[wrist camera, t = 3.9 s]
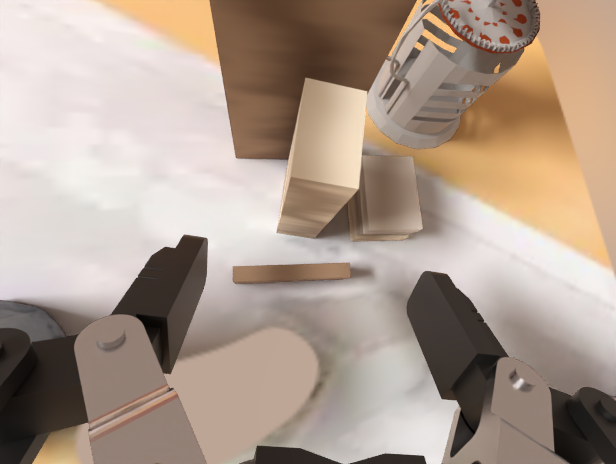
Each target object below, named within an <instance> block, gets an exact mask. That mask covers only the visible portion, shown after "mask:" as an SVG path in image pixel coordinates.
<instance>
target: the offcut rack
mask: <svg viewBox="0 0 616 464" xmlns="http://www.w3.org/2000/svg"><path fill="white" fill-rule="evenodd" d="M416 1H417V0H210V6H211V12H212V18H213V24H214V30H215V36H216V42H217V48H218V54H219V60H220V66H221V72H222V77H223V83H224V89H225V95H226V101H227V107H228V113H229V119H230V125H231V131H232V137H233V143H234V149H235V155H236V158H258V159H289V155H290V150H291V145H292V140H293V136H294V131H295V126H296V121H297V116H298V111H299V107H300V102H301V97H302V92H303V87H304V82H305V78H310V79H314V80H318V81H323V82H327V83H332V84H336V85H341V86H345V87H350V88H354V89H359V90H363V91H367V94H368V92H369V90H370V89H371V87H372V85H373V83H374V81H375V79H376V77H377V75H378V73H379V71H380V69H381V68H382V66H383V64H384V62H385V60H386V58H387V56H388V54H389V52H390V50H391V49H392V47H393V45H394V43H395V41H396V39H397V37H398V35H399V33H400V31H401V30H402V28H403V26H404V24H405V22H406V20H407V18H408V16H409V14H410V12H411V10H412V9H413V7H414V5H415V3H416ZM349 277H351V274H350V263H327V264H296V265H265V266H234V267H233V282H234V283H235V284H243V283H267V282H291V281H315V280H339V279H345V278H349Z"/></svg>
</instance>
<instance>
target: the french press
mask: <svg viewBox="0 0 616 464" xmlns="http://www.w3.org/2000/svg"><path fill="white" fill-rule="evenodd" d="M425 1H426V0H422V1H421V3H420V5H419V7H418V9H417V10H416V12H415V14H414V16H413V18H412V19H411V21H410V23H409V25H408V27H407V29H406V30H405V32H404V33H403V35H402V37H401V39H400V41H399V42H398V44H397V46H396V48H395V50H394V52H393V53H392V56H391V57H390V56H387V58H386V60H387V61H385V62H384V64H383V66H382V68H381V69H380V71H379V73H378V75H377V77H376V79H375V81H374V83H373V85H372V87H371V89H370V90H369V92H368V94H367V101H366V108H367V112H368V114H369V116H370V117H371V119H372V120H373V122H374V123H375V125H376V126H377V128H378V129H379V131H381V132H382V133H383V134H385V135H386V136H388V137H389V138H390V139H392V140H393V141H394V142H396V143H398V144H401V145H404V146H408V147H411V148H414V149H425V148H436V147H438V146H439V145H441V144H443V143H445V142H446V141H448V140H450V139H451V138H452V136H453V135H454V133H455V132H456V130H457V128H458V127H459V125H460V118H461V114H462V113H463V112H465V110H466V108H467V107H469V106H471V105H472V104H473V103H474V102H475V101H476V99H477V98H478V97H480V96H481V95H483V94H484V93H485V92H486V91H487V90H488V88H489V86H491V85H493V84H494V83H496V82H497V81H498V80H499V79H500V78H501V77H502V76H503V75H504V74H506V73H507V72H508V71H509V70H510V69H511V68H512V67H513V66H514V65H515V64H516V63H517V61H518V60H519V58H520V57H521V55H522V53H523V52H524V47H526V46H528V45H530V44H532V42H533V40H534V39H535V37H536V35H537V33H538V32H539V29H540V27H539V26H540V12H539V9H538V8H539V7H537V4H538V3H536V2H535V0H434V1H433V2H432V3H431V4H428V5H424V6H423V7H422V4H423V3H424V2H425ZM437 4H438V5H439V6H438V5H437ZM428 12H431V13H432V14H434V15H435V16H436V17H438V18H439V19H440V20H441V21H443V22H444V23H445V24H447V25H448V26H449V27H450V28H451V29H452V31H453V32H454V33H455V34H456V35H457V36H458V37H460V38H461V39H462V40H463V41H461V40H458V39H456V38H454V37H452V36H450V35H448V34H447V33H446V32H444V31H443V30H441V29H440V28H438V27H437V26H435V25H434V24H433V23H431V22H430V21H428V20H427V19H422V18H423V17H424V16H425V15H426V14H427V13H428ZM424 28H425V29H426V30H428V31H429V32H431V33H432V34H433V35H434V36H436V37H437V38H439V39H441V40H442V41H444V42H445V43H447V44H449V45H451V46H454V47H456V48H457V49H456V51H455V52H454V53H451V52H449V51H447V50H445V49H443V48H441V47H439V46H438V45H436V44H435V43H433V42H432V41H430V40H429V39H427V38H425V37H424V36H422V35H421V34H422V33H423V31H424ZM416 42H419V43H421V44H422V45H423V46H425V47H424V48H423V50H422V51H420V50H418V49H417V48H415V47H414V46H415V44H416ZM500 62H501V64H500V68H499V73H494V69H495V67H496V66H497V65H498V64H499V63H500ZM493 73H494V74H493ZM476 86H477V87H476ZM481 86H485V88H484V90H483V92H480V90H481ZM475 87H476V91H475V92H473V91H472V90H473V89H474V88H475ZM464 98H466V101H465V103H462V100H463V99H464ZM470 98H472V99H473V101H472V103H470ZM461 109H463V110H462V112H461Z"/></svg>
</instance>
